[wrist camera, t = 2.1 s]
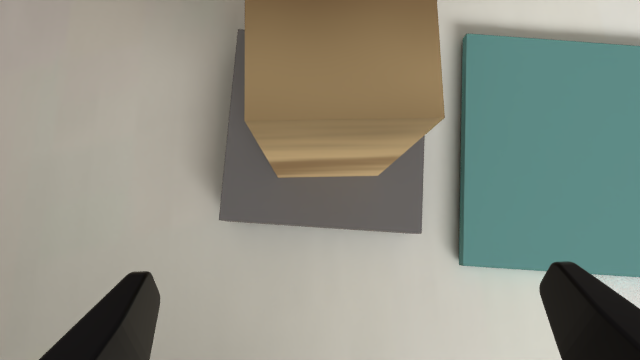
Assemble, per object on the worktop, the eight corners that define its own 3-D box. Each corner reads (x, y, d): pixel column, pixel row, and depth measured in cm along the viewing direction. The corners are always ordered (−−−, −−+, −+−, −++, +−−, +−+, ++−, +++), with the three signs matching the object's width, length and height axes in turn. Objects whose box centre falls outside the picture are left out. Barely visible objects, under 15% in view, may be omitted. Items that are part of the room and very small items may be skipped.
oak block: (377, 175, 20) (444, 117, 10) (278, 177, 20) (244, 120, 10) (373, 80, 20) (432, -64, 11) (277, 81, 20) (245, -63, 10)
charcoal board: (411, 233, 21) (421, 233, 19) (227, 221, 21) (218, 220, 19) (417, 59, 23) (427, 43, 21) (244, 47, 23) (238, 29, 21)
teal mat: (696, 280, 21) (706, 281, 21) (459, 264, 21) (463, 265, 21) (681, 54, 23) (691, 49, 23) (462, 38, 23) (466, 33, 22)
